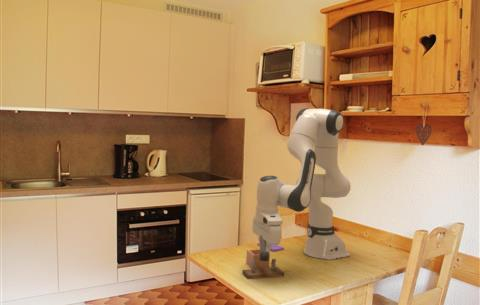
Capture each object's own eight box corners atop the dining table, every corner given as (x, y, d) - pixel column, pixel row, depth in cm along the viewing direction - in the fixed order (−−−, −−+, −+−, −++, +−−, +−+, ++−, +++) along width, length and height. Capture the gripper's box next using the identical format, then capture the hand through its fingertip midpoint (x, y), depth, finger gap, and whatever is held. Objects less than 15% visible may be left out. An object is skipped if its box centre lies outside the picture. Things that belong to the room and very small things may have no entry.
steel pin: (266, 257, 166) (267, 233, 166) (270, 260, 162) (271, 236, 162) (257, 258, 165) (258, 234, 164) (261, 261, 161) (262, 236, 160)
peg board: (277, 270, 170) (278, 256, 170) (283, 275, 164) (284, 261, 164) (242, 273, 164) (243, 259, 164) (247, 279, 159) (248, 264, 158)
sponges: (267, 244, 209) (267, 240, 209) (284, 250, 199) (284, 247, 199) (257, 246, 205) (257, 242, 205) (274, 253, 195) (274, 249, 195)
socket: (261, 261, 180) (262, 248, 179) (269, 267, 173) (269, 254, 172) (246, 263, 177) (246, 249, 177) (252, 269, 170) (253, 255, 170)
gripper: (249, 210, 171) (247, 242, 172) (270, 222, 152) (268, 257, 153) (263, 210, 173) (261, 241, 174) (284, 221, 154) (282, 256, 155)
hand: (264, 249), depth 163 cm, fingers closed on steel pin, 4 cm apart
